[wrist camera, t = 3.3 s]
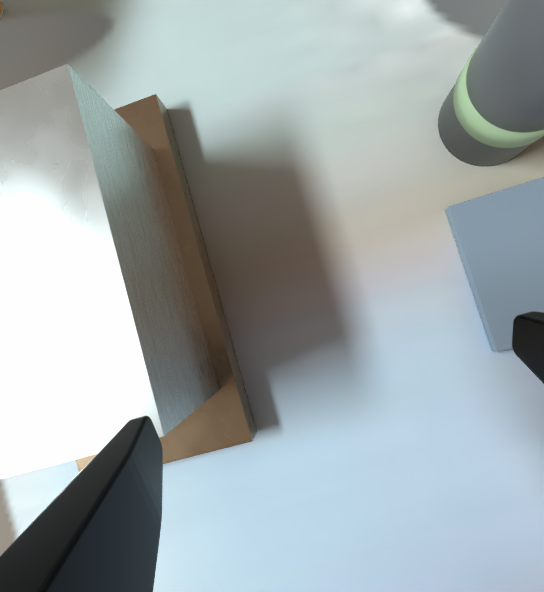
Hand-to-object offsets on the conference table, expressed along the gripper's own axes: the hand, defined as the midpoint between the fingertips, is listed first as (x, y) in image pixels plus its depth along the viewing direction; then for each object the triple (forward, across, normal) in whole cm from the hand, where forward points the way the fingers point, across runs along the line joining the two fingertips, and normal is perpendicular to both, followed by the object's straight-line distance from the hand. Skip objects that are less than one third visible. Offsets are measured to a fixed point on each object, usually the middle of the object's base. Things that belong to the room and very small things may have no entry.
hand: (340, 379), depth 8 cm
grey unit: (+14, +8, +1) cm, 17 cm away
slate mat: (+9, -14, +3) cm, 17 cm away
